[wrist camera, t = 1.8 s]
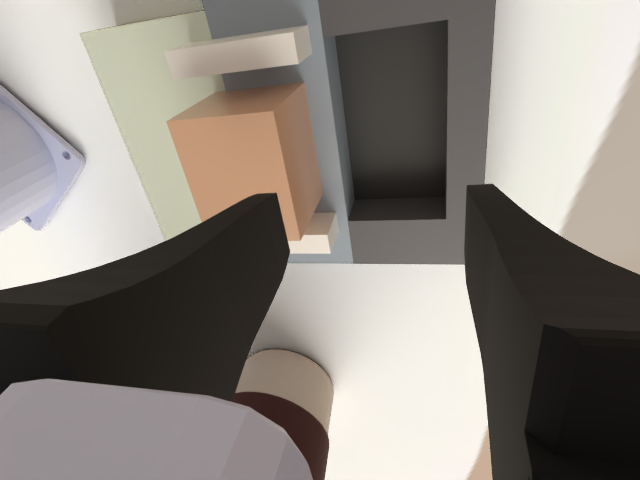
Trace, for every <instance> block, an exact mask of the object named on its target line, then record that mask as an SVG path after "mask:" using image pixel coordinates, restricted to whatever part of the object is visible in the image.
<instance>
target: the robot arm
mask: <svg viewBox="0 0 640 480" xmlns="http://www.w3.org/2000/svg"><path fill="white" fill-rule="evenodd" d="M67 152H68V153H69V154H70V156H69V155H68V153H67ZM85 164H86V162H85V159H84V157H83V156H82V155H81V154H80V153H79V152H78V151H77V150H76V149H74V148H73V147H72V146H71V145H70V144H69V143H68V142H66V141H65V140H64V139H63V138H62V137H61V136H59V135H58V134H57V133H56V132H55V131H54V130H52V129H51V128H50V127H49V126H48V125H47V124H46V123H44V122H43V121H42V120H41V119H40V118H39V117H37V116H36V115H35V114H34V113H33V112H32V111H30V110H29V109H28V108H27V107H26V106H25V105H24V104H22V103H21V102H20V101H19V100H18V99H17V98H15V97H14V96H13V95H12V94H11V93H10V92H9V91H7V90H6V89H5V88H4V87H3V86H2V85H0V232H2V231H3V230H5V229H7V228H8V227H10V226H11V225H13V224H15V223H16V222H18V221H19V220H23V221H24V222H25V223H26V224H28V225H29V226H30V227H32V228H33V229H35V230H41V229H43V228H44V227H45V226H46V224H47V223H48V221H49V220H50V218H51V217H52V215H53V214H54V212H55V211H56V209H57V208H58V206H59V205H60V203H61V202H62V200H63V198H64V197H65V195H66V194H67V192H68V191H69V189H70V188H71V186H72V185H73V183H74V182H75V180H76V179H77V177H78V176H79V174H80V173H81V171H82V170H83V168H84V167H85ZM289 255H290V248H289V244H288V240H287V235H286V231H285V227H284V222H283V218H282V214H281V209H280V205H279V201H278V196H277V193H258V194H255V195H252V196H249V197H247V198H245V199H243V200H241V201H239V202H238V203H236V204H234V205H232V206H230V207H228V208H227V209H225V210H223V211H221V212H220V213H218V214H216V215H214V216H213V217H211V218H209V219H207V220H205V221H204V222H202V223H200V224H198V225H196V226H194V227H192V228H190V229H188V230H186V231H185V232H183V233H181V234H179V235H177V236H175V237H173V238H171V239H169V240H167V241H164V242H162V243H160V244H158V245H155V246H153V247H151V248H148V249H146V250H144V251H141V252H139V253H136V254H134V255H131V256H128V257H125V258H122V259H119V260H116V261H113V262H111V263H108V264H105V265H102V266H99V267H96V268H92V269H89V270H85V271H82V272H79V273H75V274H71V275H67V276H63V277H60V278H56V279H52V280H47V281H43V282H38V283H33V284H28V285H23V286H18V287H13V288H8V289H4V290H0V480H313V478H312V475H311V472H310V468H309V465H308V463H307V461H306V460H305V458H304V456H303V455H302V453H301V452H300V451H299V449H298V448H297V446H296V445H295V444H294V442H293V441H292V439H291V438H290V437H289V435H288V434H287V432H286V431H285V430H284V428H282V427H280V426H279V425H277V424H276V423H274V422H272V421H271V420H269V419H268V418H266V417H264V416H263V415H261V414H260V413H258V412H256V411H255V410H253V409H252V408H250V407H248V406H244V405H241V404H237V403H234V402H233V399H234V396H235V392H236V389H237V386H238V383H239V380H240V377H241V374H242V371H243V368H244V365H245V362H246V359H247V356H248V353H249V351H250V348H251V346H252V343H253V341H254V339H255V336H256V334H257V332H258V330H259V328H260V326H261V324H262V322H263V320H264V318H265V315H266V313H267V311H268V309H269V307H270V305H271V303H272V301H273V299H274V297H275V294H276V292H277V290H278V288H279V286H280V283H281V281H282V279H283V276H284V272H285V269H286V266H287V262H288V258H289ZM464 258H465V273H466V284H467V289H468V294H469V299H470V304H471V309H472V314H473V318H474V323H475V328H476V333H477V338H478V342H479V347H480V352H481V358H482V364H483V372H484V383H485V393H486V404H487V415H488V427H489V439H490V449H491V450H490V451H491V464H492V476H493V480H640V275H639V274H637V273H634V272H632V271H629V270H627V269H625V268H622V267H620V266H618V265H615V264H613V263H611V262H608V261H606V260H604V259H602V258H600V257H598V256H596V255H594V254H592V253H590V252H588V251H586V250H584V249H582V248H581V247H578V246H577V245H575V244H573V243H571V242H569V241H568V240H566V239H564V238H563V237H561V236H559V235H558V234H556V233H555V232H553V231H552V230H550V229H549V228H547V227H546V226H544V225H543V224H541V223H540V222H539V221H537V220H536V219H534V218H533V217H532V216H530V215H529V214H528V213H527V212H525V211H524V210H523V209H521V208H520V207H519V206H518V205H517V204H515V203H514V202H513V201H512V200H511V199H510V198H508V197H507V196H506V195H505V194H504V193H503V192H501V191H500V190H499V189H498V188H497V187H496V186H495V185H493V184H480V185H467V189H466V215H465V241H464Z"/></svg>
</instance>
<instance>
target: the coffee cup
mask: <svg viewBox="0 0 640 480" xmlns="http://www.w3.org/2000/svg"><path fill="white" fill-rule="evenodd" d="M233 402H234V403H237V404H241V405H244V406H248V407H250V408H252V409H253V410H255V411H256V412H258V413H260V414H261V415H263V416H264V417H266V418H268V419H269V420H271V421H272V422H274V423H276V424H277V425H279V426H280V427H282V428H284V430H285V431H286V432H287V434H288V435H289V437H290V438H291V439H292V441H293V442H294V444H295V445H296V446H297V448H298V449H299V451H300V452H301V453H302V455H303V456H304V458H305V460H306V461H307V463H308V465H309V468H310V472H311V475H312V478H313V480H324V479H325V472H326V465H327V458H328V451H329V439H328V429H329V422H330V416H331V409H332V402H333V385H332V383H331V380H330V378H329V377H328V375H327V374H326V372H325V371H324V370H323V369H322V368H321V367H320V366H319V365H318V364H316V363H315V362H313V361H312V360H310V359H309V358H307V357H305V356H303V355H300V354H298V353H295V352H291V351H286V350H280V349H270V350H263V351H260V352H258V353H255V354H254V355H252V356H250V357H249V358H248V359H247V360H246V362H245V365H244V368H243V371H242V374H241V377H240V380H239V383H238V386H237V389H236V392H235V396H234V399H233Z"/></svg>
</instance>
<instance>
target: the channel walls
mask: <svg viewBox="0 0 640 480" xmlns="http://www.w3.org/2000/svg"><path fill="white" fill-rule="evenodd" d="M164 53H165V56H166V59H167V62H168V66H169V69H170V72H171V75H172V78H173V80H177V79H185V78H193V77H201V76H208V75H216V74H224V73H232V72H240V71H247V70H255V69H263V68H271V67H278V66H286V65H294V64H299V63H300V62H302V61H303V60H304V59H306V58H307V57H308V56H310V55H311V54H312V49H311V42H310V35H309V29H308V25H303V26H296V27H290V28H283V29H277V30H270V31H264V32H258V33H251V34H245V35H238V36H232V37H225V38H219V39H212V40H206V41H199V42H193V43H188V44H185V45H182V46H179V47H176V48H173V49H170V50H167V51H164ZM338 231H339V228H338V221H337V215H336V212H328V213H313V216H312V218H311V220H310V222H309V224H308V226H307V228H306V230H305V232H304V235H303V237H302V239H301V241H288V244H289V248H290V254H331V251H332V248H333V246H334V243H335V240H336V237H337V234H338Z"/></svg>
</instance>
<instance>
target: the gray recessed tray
mask: <svg viewBox="0 0 640 480" xmlns="http://www.w3.org/2000/svg"><path fill="white" fill-rule="evenodd" d="M202 3H203V7H204V11H205V14H206V18H207V22H208V26H209V30H210V33H211V37H212V39H219V38H225V37H232V36H238V35H245V34H251V33H258V32H264V31H270V30H277V29H283V28H290V27H296V26H303V25H308V29H309V35H310V42H311V49H312V54H311V55H310V56H308V57H307V58H306V59H304V60H303V61H302V62H300V63H299V64H294V65H286V66H278V67H271V68H263V69H255V70H247V71H240V72H232V73H224V74H221V75H222V79H223V82H224V86H225V90H226V91H231V90H240V89H248V88H257V87H265V86H274V85H283V84H291V83H300V82H304V83H305V89H306V95H307V101H308V107H309V113H310V119H311V125H312V131H313V137H314V143H315V149H316V155H317V161H318V167H319V174H320V180H321V186H322V192H323V195H322V197H321V199H320V201H319V203H318V205H317V207H316V209H315V211H314V213H328V212H336V215H337V221H338V228H339V231H338V234H337V237H336V240H335V243H334V246H333V248H332V251H331V254H290V255H289V258H288V262H287V263H351V264H465V258H464V241H465V215H466V189H467V185H480V184H484V179H485V164H486V148H487V132H488V116H489V100H490V84H491V68H492V52H493V36H494V20H495V5H496V0H202Z"/></svg>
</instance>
